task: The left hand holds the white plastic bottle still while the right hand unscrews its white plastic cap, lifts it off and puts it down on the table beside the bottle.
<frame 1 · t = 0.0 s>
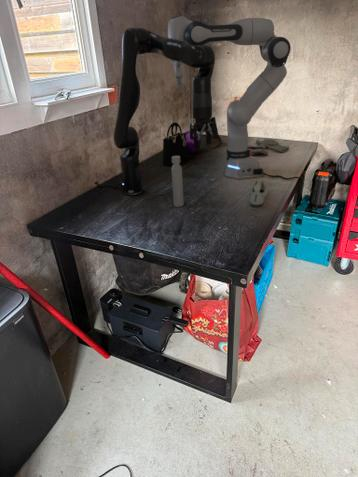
left hand: (202, 146, 135), 29 cm above the table, tool pointing down, fingers open, 8 cm apart
right hand: (179, 86, 168), 48 cm above the table, tool pointing down, fingers open, 8 cm apart
cap: (175, 157, 146), point 23 cm above the table, screwed on, not yet turned
bottle: (178, 204, 158), on the table
handbag: (176, 162, 217), on the table
decorative orb: (190, 153, 234), on the table
pair of gloves: (261, 150, 230), on the table
boot: (215, 144, 250), on the table
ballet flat: (258, 197, 160), on the table
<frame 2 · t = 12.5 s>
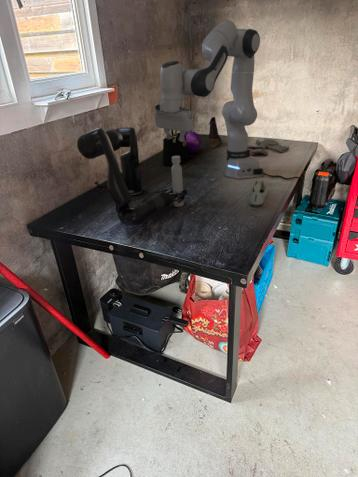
left hand: (181, 190, 156), 6 cm above the table, tool horizontal, fingers closed on bottle, 5 cm apart
right hand: (175, 140, 143), 31 cm above the table, tool pointing down, fingers open, 6 cm apart
bottle: (178, 204, 158), on the table, touching left hand
everything else where it was.
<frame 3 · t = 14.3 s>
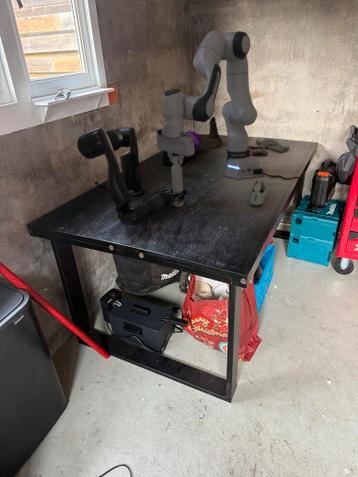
left hand: (181, 190, 156), 6 cm above the table, tool horizontal, fingers closed on bottle, 5 cm apart
right hand: (176, 162, 148), 21 cm above the table, tool pointing down, fingers closed on cap, 4 cm apart
cap: (176, 157, 146), point 23 cm above the table, screwed on, not yet turned, touching right hand
bottle: (178, 204, 158), on the table, touching left hand
everything else where it was.
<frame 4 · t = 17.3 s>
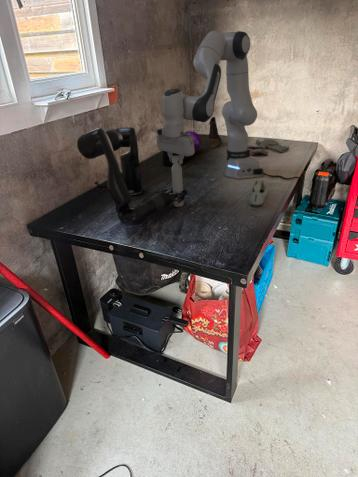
left hand: (181, 190, 156), 6 cm above the table, tool horizontal, fingers closed on bottle, 5 cm apart
right hand: (176, 162, 148), 21 cm above the table, tool pointing down, fingers closed on cap, 3 cm apart
cap: (176, 157, 146), point 23 cm above the table, turned 66° so far, risen 0.1 cm, still on its thread, touching right hand
bottle: (178, 204, 158), on the table, touching left hand
everything else where it was.
when the right hand's fingers open (2 cm above the table, at t = 37.0 s): cap drops 2 cm, point 2 cm above the table.
when the left hand's fingers open (6 cm above the table, at t = 38.2 s): bottle stays where it is, on the table.
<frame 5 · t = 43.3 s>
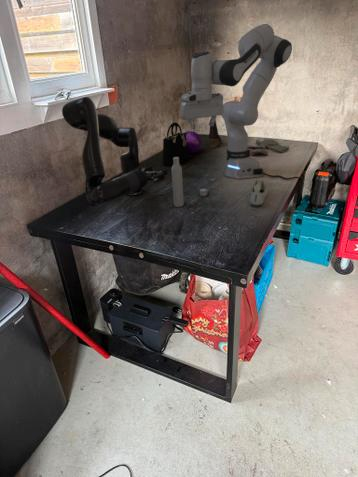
left hand: (159, 169, 140), 21 cm above the table, tool horizontal, fingers open, 8 cm apart
right hand: (202, 127, 150), 33 cm above the table, tool pointing down, fingers open, 8 cm apart
cap: (203, 190, 166), point 2 cm above the table, off its thread
bottle: (178, 204, 158), on the table
everything else where it was.
at the end: cap came off its thread; cap point 2.2 cm above the table; the left hand is holding nothing; the right hand is holding nothing; bottle tilted 0°; bottle moved 0.0 cm from its start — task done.
